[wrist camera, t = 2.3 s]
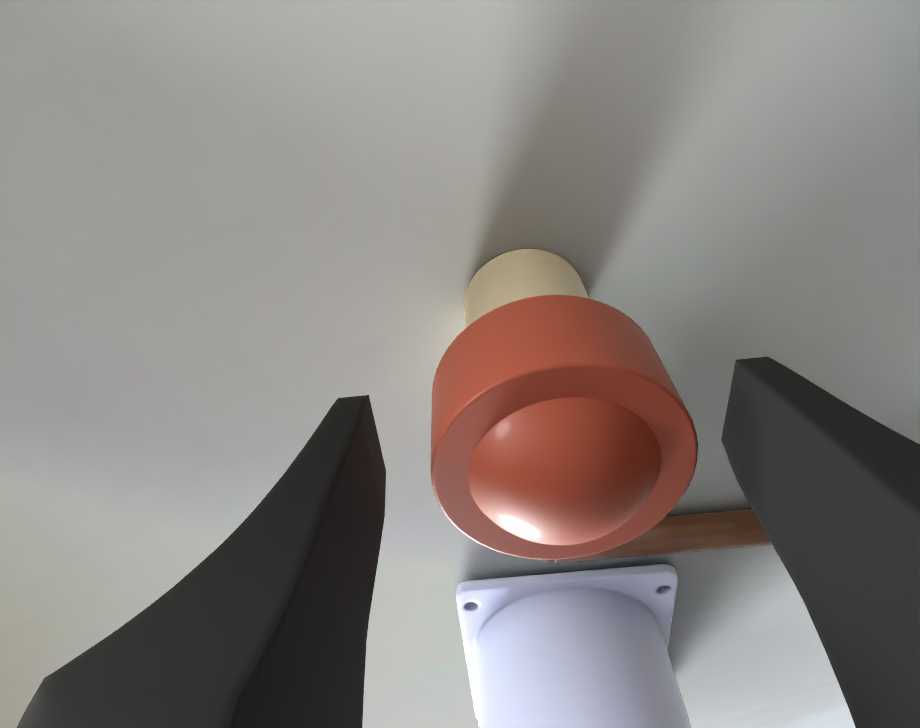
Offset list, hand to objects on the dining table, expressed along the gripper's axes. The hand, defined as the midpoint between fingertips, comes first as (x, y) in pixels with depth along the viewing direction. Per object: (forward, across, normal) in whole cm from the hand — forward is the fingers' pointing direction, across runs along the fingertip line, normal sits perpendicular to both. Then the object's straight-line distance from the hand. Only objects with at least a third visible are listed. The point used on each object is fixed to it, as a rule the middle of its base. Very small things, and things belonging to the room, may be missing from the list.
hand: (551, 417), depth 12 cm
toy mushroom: (+5, 0, 0) cm, 5 cm away
